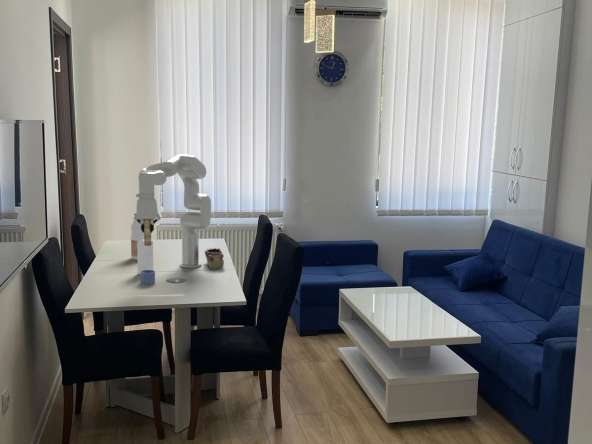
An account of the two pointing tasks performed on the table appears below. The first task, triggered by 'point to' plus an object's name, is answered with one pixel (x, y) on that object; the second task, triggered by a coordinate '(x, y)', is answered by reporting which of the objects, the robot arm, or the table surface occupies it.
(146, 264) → the milk
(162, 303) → the table surface
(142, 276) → the cup
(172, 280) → the coaster
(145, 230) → the wooden pestle
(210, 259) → the decorative box
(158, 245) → the table surface
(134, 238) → the fruit juice
